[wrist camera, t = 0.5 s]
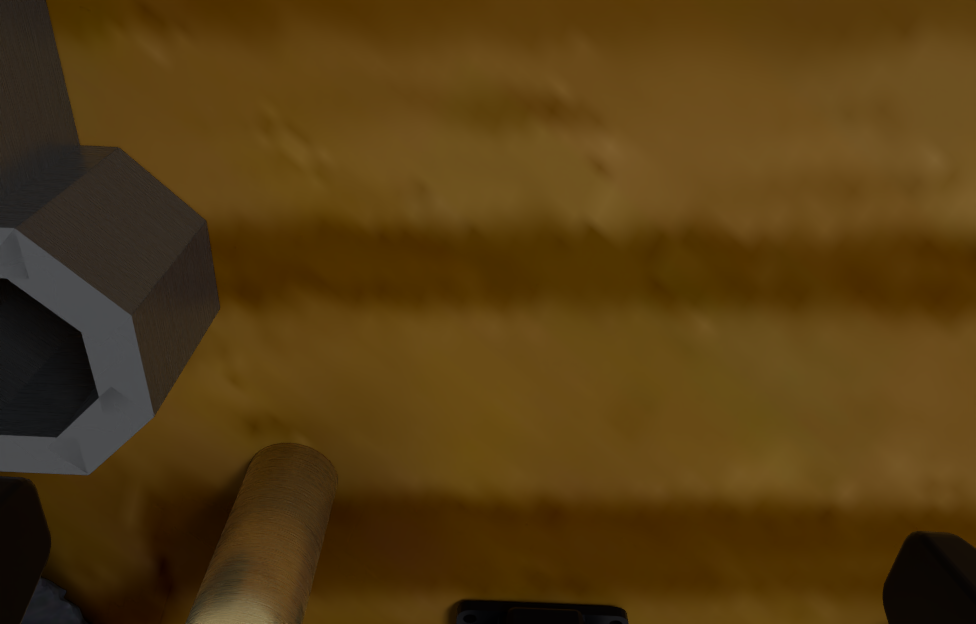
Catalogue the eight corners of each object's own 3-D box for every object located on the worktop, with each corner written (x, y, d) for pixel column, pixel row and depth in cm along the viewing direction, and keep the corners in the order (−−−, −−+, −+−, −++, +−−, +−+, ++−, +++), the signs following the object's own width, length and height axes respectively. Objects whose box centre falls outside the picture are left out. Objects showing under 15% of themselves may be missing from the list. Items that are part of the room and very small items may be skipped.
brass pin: (339, 510, 27) (265, 822, 18) (253, 506, 27) (138, 817, 18) (335, 445, 25) (251, 752, 16) (243, 441, 25) (112, 747, 16)
